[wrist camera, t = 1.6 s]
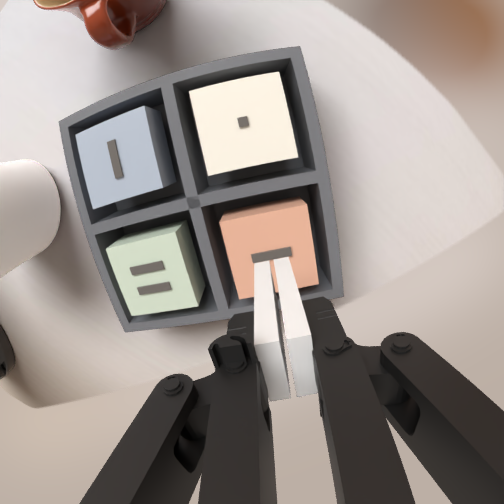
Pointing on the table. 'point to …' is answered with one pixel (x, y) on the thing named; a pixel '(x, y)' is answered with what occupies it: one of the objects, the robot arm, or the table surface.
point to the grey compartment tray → (210, 185)
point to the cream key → (243, 123)
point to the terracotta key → (269, 241)
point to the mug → (109, 17)
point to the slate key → (125, 156)
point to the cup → (26, 212)
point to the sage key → (157, 269)
